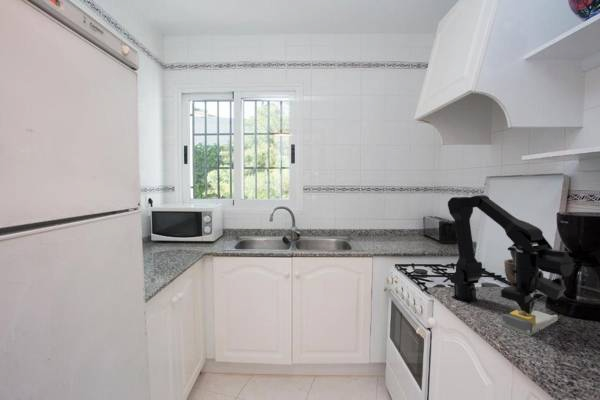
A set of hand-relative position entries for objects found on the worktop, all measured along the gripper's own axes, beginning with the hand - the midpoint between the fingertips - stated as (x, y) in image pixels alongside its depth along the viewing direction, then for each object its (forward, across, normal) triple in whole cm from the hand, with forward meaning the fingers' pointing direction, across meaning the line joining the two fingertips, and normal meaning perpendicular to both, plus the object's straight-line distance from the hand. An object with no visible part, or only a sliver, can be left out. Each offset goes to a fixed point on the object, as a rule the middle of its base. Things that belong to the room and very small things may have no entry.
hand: (527, 316), depth 86 cm
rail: (+2, +2, 0) cm, 3 cm away
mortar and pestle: (+3, +24, +12) cm, 27 cm away
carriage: (+1, -3, 0) cm, 3 cm away
